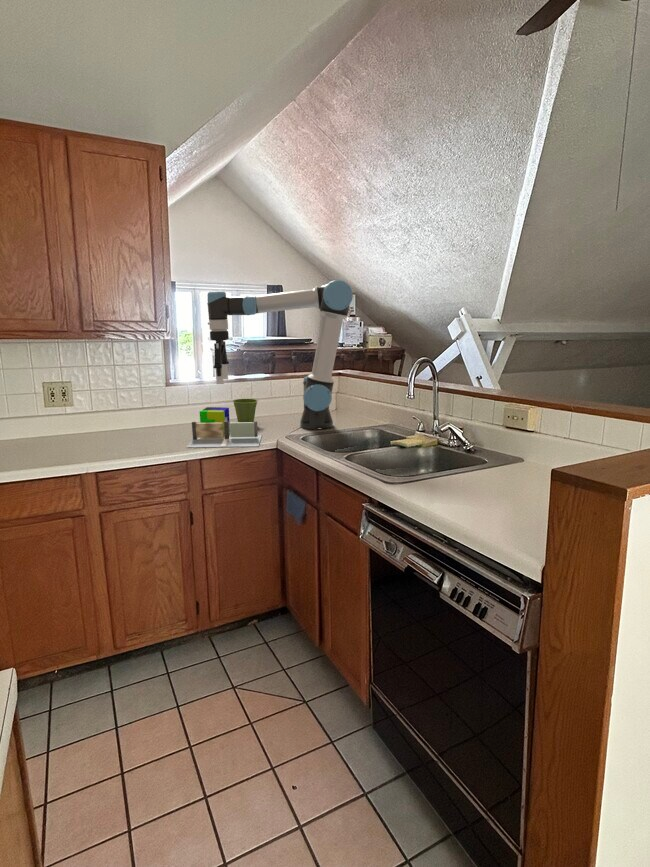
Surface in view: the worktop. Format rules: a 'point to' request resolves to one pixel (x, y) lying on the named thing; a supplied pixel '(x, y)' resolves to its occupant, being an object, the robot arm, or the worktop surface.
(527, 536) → the worktop surface
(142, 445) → the worktop surface
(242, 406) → the plant pot
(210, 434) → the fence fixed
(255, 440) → the card
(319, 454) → the worktop surface
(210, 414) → the puzzle toy
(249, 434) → the fence panel
